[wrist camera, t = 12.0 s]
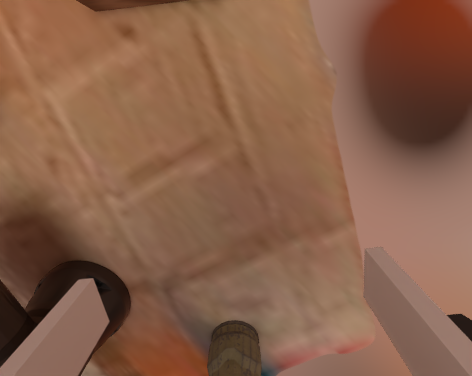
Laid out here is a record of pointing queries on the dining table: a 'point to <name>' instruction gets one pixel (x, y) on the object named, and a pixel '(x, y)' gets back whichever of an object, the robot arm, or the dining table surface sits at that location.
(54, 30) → the dining table surface
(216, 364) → the olive green segmented column
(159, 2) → the stand
